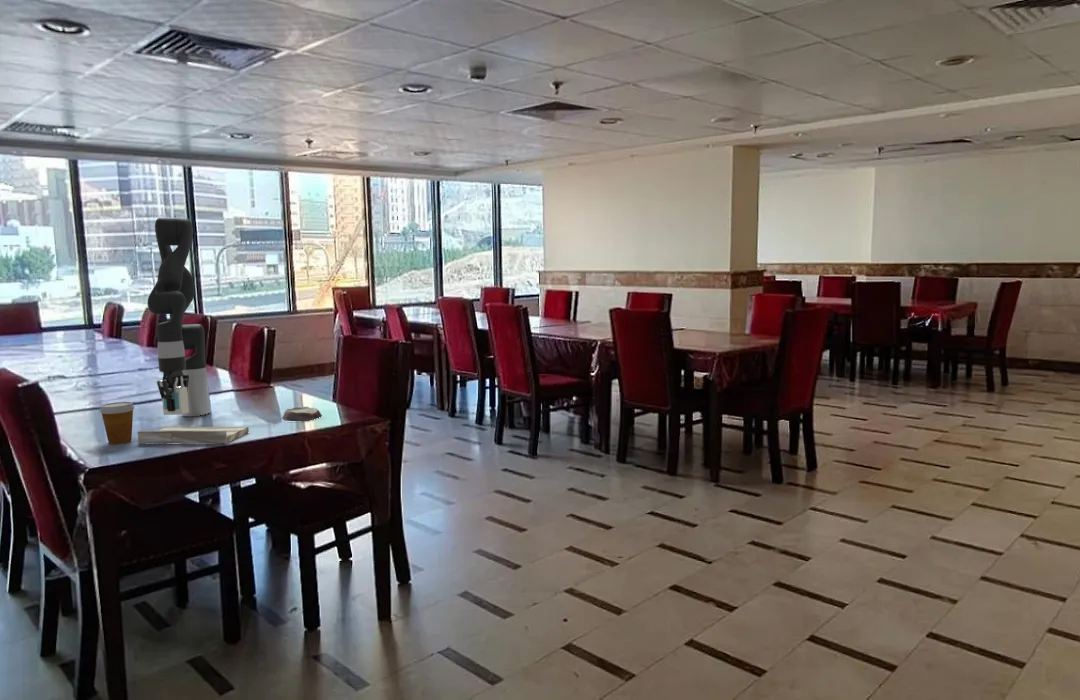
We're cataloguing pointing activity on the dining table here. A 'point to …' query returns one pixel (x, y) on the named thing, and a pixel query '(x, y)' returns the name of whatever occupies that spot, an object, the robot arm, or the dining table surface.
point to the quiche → (301, 414)
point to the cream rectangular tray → (191, 435)
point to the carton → (177, 402)
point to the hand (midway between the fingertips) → (175, 409)
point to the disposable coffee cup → (118, 421)
